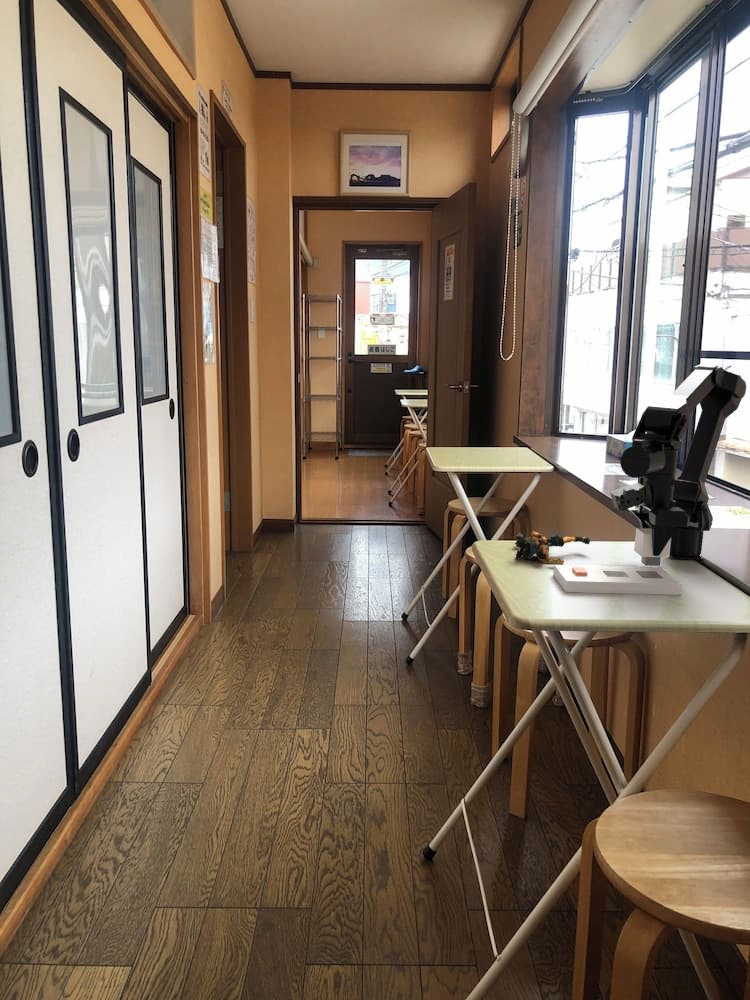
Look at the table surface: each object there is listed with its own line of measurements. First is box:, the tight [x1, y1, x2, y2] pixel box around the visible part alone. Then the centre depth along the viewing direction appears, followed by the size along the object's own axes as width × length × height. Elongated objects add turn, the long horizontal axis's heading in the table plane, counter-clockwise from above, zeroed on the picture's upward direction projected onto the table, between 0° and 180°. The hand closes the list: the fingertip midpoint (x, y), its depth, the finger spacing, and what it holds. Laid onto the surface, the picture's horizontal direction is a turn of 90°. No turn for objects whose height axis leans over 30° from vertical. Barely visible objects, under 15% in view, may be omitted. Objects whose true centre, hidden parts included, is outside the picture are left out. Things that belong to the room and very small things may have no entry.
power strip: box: [552, 564, 682, 596], centre depth 146 cm, size 20×10×3 cm, turn 90°
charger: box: [633, 527, 671, 567], centre depth 156 cm, size 5×5×6 cm
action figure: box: [514, 530, 591, 565], centre depth 163 cm, size 6×15×15 cm
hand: (651, 552), depth 156 cm, fingers closed on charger, 5 cm apart
